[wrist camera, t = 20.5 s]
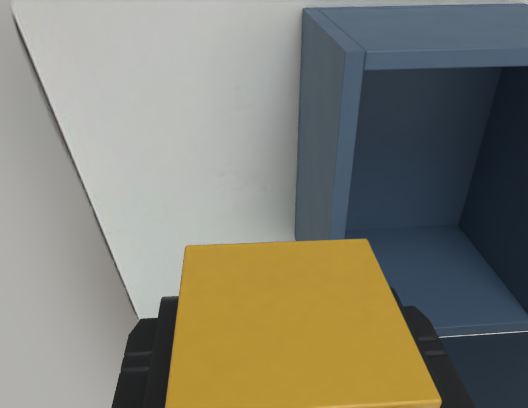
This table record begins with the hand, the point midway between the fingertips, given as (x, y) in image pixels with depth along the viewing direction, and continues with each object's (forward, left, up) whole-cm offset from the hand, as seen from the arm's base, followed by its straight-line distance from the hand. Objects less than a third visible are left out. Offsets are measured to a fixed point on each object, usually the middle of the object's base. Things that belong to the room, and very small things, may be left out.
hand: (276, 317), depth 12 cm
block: (0, 0, 0) cm, 0 cm away
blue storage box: (+4, +10, -20) cm, 22 cm away
